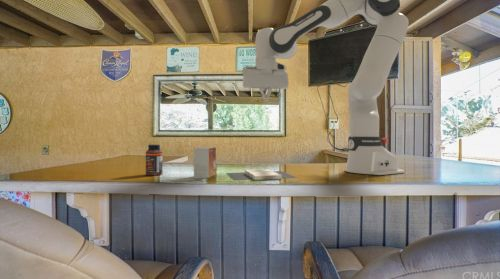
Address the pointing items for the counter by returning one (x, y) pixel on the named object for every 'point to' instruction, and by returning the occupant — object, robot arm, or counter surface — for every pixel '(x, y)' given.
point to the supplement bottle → (153, 160)
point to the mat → (244, 177)
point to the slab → (263, 175)
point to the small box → (204, 162)
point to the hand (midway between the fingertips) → (265, 98)
